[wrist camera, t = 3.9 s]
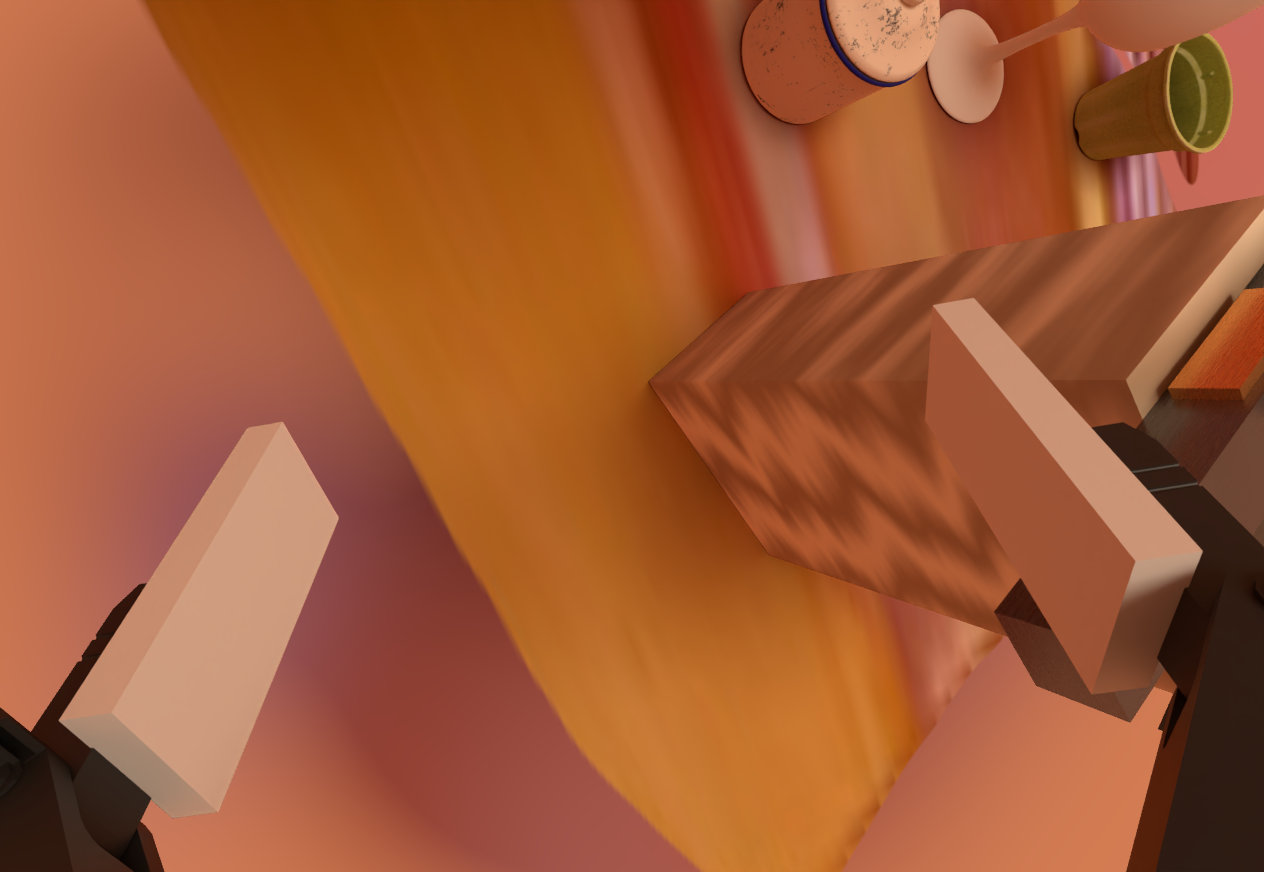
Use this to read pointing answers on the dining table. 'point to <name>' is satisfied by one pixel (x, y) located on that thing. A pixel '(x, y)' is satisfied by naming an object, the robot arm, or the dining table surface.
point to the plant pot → (1160, 104)
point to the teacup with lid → (833, 51)
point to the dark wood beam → (1202, 443)
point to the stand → (897, 389)
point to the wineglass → (1109, 7)
